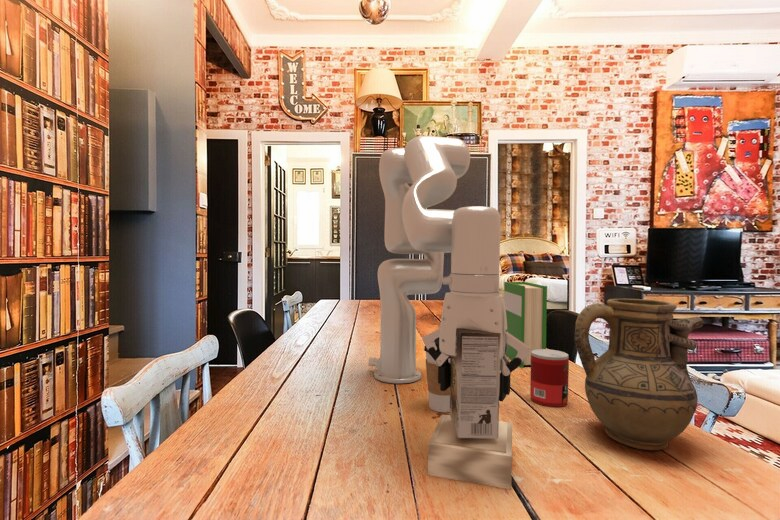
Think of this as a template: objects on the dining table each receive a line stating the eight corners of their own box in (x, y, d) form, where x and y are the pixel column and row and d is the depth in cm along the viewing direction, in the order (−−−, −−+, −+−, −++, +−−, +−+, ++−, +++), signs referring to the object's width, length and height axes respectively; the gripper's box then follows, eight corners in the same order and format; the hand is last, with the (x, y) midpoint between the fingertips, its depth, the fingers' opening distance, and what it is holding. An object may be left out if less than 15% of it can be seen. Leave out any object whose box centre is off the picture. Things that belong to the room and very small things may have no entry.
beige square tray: (427, 477, 62) (428, 443, 62) (441, 442, 73) (441, 413, 73) (511, 491, 58) (511, 455, 58) (512, 452, 70) (512, 422, 69)
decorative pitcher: (589, 458, 67) (592, 305, 67) (559, 416, 85) (561, 294, 84) (735, 469, 64) (739, 309, 64) (673, 422, 82) (675, 297, 81)
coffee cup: (465, 403, 91) (466, 335, 91) (459, 417, 83) (459, 343, 83) (428, 398, 94) (429, 333, 94) (418, 411, 86) (419, 340, 86)
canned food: (571, 408, 89) (572, 358, 89) (532, 405, 90) (533, 355, 90) (563, 396, 96) (564, 350, 96) (528, 394, 98) (528, 348, 98)
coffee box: (448, 414, 70) (449, 320, 70) (485, 414, 70) (487, 320, 70) (456, 438, 61) (458, 331, 61) (499, 439, 61) (501, 331, 61)
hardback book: (545, 367, 121) (547, 286, 120) (520, 367, 121) (521, 286, 120) (525, 353, 138) (526, 282, 138) (503, 353, 138) (504, 281, 138)
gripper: (415, 284, 66) (413, 391, 66) (528, 290, 58) (526, 411, 58) (431, 281, 72) (430, 378, 73) (535, 286, 65) (533, 395, 65)
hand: (472, 393), depth 66 cm, fingers closed on coffee box, 8 cm apart
